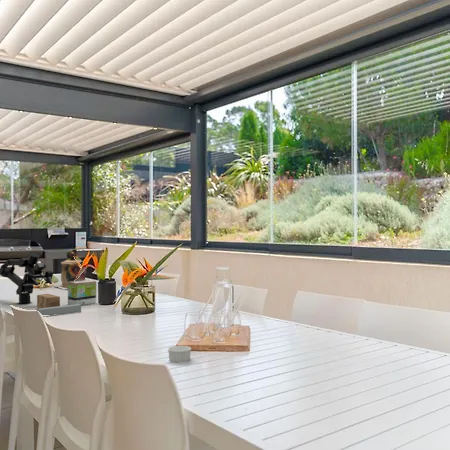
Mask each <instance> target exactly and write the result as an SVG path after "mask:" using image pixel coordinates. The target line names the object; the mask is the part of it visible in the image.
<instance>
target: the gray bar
mask: <svg viewBox="0 0 450 450" xmlns="http://www.w3.org/2000/svg"><path fill="white" fill-rule="evenodd" d="M36 310H38V311H39V312H40V313H41V314H42V315H54V314H62V315H69V314H68V313H70V314H75V313H74V312H78V313H82V305H80V304H74V305H69V304H67V305H66V304H65V305H60V306H57V307H49V308H40V309H36ZM54 316H55V315H54Z"/></svg>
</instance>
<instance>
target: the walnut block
mask: <svg viewBox="0 0 450 450" xmlns="http://www.w3.org/2000/svg"><path fill="white" fill-rule="evenodd" d="M36 299H37V300H36V307H37V309H40V308H49V307H57V306H61V296H58V295H56V294H55V295H54V294H51V293H44V294H37V295H36ZM37 309H36V310H37Z"/></svg>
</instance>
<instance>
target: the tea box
mask: <svg viewBox="0 0 450 450" xmlns="http://www.w3.org/2000/svg"><path fill="white" fill-rule="evenodd" d="M96 303H97V281H96V280H90V279H89V280H88V279H85V280H83V281H73V282H68V289H67V305H74V304H80V305H81V306H84V305H85V306H86V305H90V304H91V305H93V304H96Z"/></svg>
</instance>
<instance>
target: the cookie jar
mask: <svg viewBox="0 0 450 450" xmlns="http://www.w3.org/2000/svg"><path fill="white" fill-rule="evenodd" d="M73 256H74V257H75V259H76V260H77V261H78V262H79V263H80V264H82V263H83V262H84V261H83V260H81V258H79V256H78V248H77V247H75V248H73V249H70V250H68V251H67V252H66V257H67V258H66V259H65V260H64V261H61V262H60V265H61V272H60V274H61V275H60V281H61V284H54V285H53V287H54V286H55V288H57V287H58V288H57V289H60V288H61V289H60V290H64V289H65V291H66V290H68V282H73V281H74V280H75V279H76V276H77V274H78V272H79V270H80V267H79V266H78V264H77V262H76V260H75V259H74V257H73ZM86 273H87V268H86V269H85V271H84V272H83V273H82V274H81V276H80V277H79V278H78V279H77V280H76V281H83V280H86Z"/></svg>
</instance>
